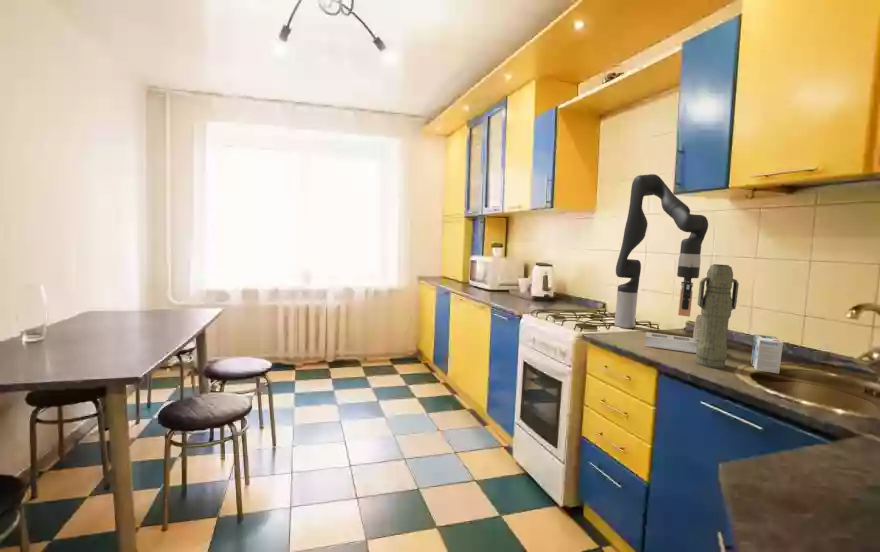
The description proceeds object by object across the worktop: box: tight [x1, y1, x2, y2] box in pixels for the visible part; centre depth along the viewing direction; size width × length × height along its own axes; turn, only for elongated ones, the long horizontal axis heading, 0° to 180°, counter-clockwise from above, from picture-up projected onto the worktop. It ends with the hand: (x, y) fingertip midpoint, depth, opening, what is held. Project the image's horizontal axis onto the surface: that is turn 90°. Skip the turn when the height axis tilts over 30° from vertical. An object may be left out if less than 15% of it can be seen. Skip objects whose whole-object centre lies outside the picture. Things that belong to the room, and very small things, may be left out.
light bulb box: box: [750, 334, 784, 374], centre depth 153 cm, size 11×7×11 cm, turn 154°
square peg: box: [677, 289, 693, 318], centre depth 175 cm, size 4×4×10 cm
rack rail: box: [644, 331, 700, 354], centre depth 176 cm, size 10×26×4 cm, turn 64°
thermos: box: [695, 263, 739, 369], centre depth 153 cm, size 9×12×35 cm
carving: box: [692, 314, 702, 339], centre depth 188 cm, size 6×8×12 cm
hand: (684, 308), depth 175 cm, fingers closed on square peg, 4 cm apart
